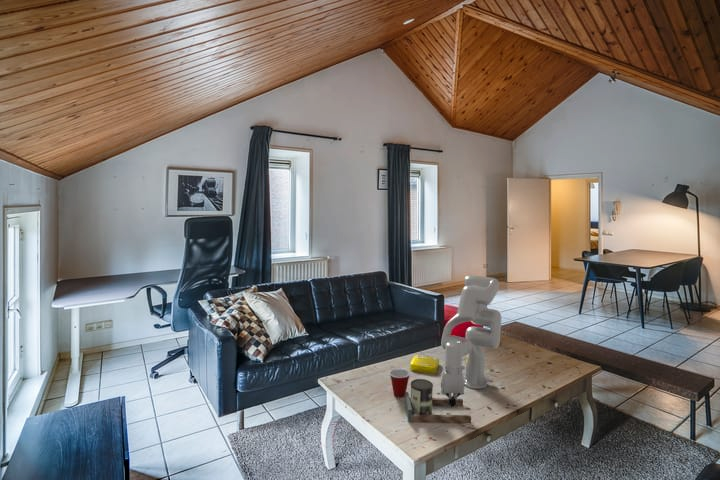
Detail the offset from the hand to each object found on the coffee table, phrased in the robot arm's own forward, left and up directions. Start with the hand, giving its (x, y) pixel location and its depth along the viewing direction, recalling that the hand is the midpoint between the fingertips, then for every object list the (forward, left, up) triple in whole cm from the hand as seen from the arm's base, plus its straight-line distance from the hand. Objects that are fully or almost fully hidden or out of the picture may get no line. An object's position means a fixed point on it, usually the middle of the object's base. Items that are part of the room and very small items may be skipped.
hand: (452, 405), depth 180 cm
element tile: (+5, -49, -4) cm, 49 cm away
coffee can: (+15, 0, -4) cm, 15 cm away
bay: (+7, +1, -3) cm, 8 cm away
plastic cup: (+23, -16, -4) cm, 29 cm away
